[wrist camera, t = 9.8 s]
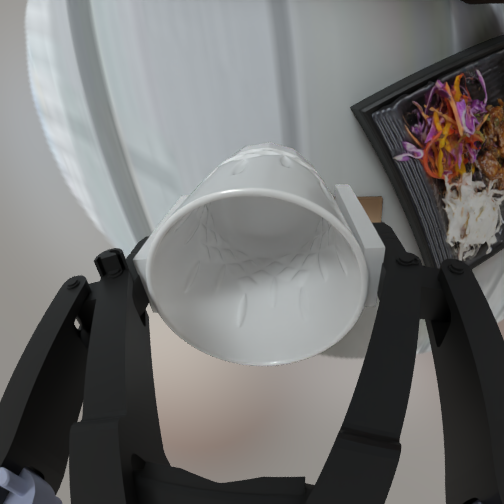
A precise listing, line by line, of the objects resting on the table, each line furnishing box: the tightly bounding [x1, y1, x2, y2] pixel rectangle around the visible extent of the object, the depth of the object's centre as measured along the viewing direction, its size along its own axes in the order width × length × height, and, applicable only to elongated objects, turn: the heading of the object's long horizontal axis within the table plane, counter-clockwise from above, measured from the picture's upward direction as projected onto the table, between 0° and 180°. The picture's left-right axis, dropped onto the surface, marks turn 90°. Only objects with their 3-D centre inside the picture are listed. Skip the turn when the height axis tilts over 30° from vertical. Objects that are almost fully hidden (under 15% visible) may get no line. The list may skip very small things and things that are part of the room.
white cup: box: [146, 142, 369, 366], centre depth 14 cm, size 8×8×10 cm
